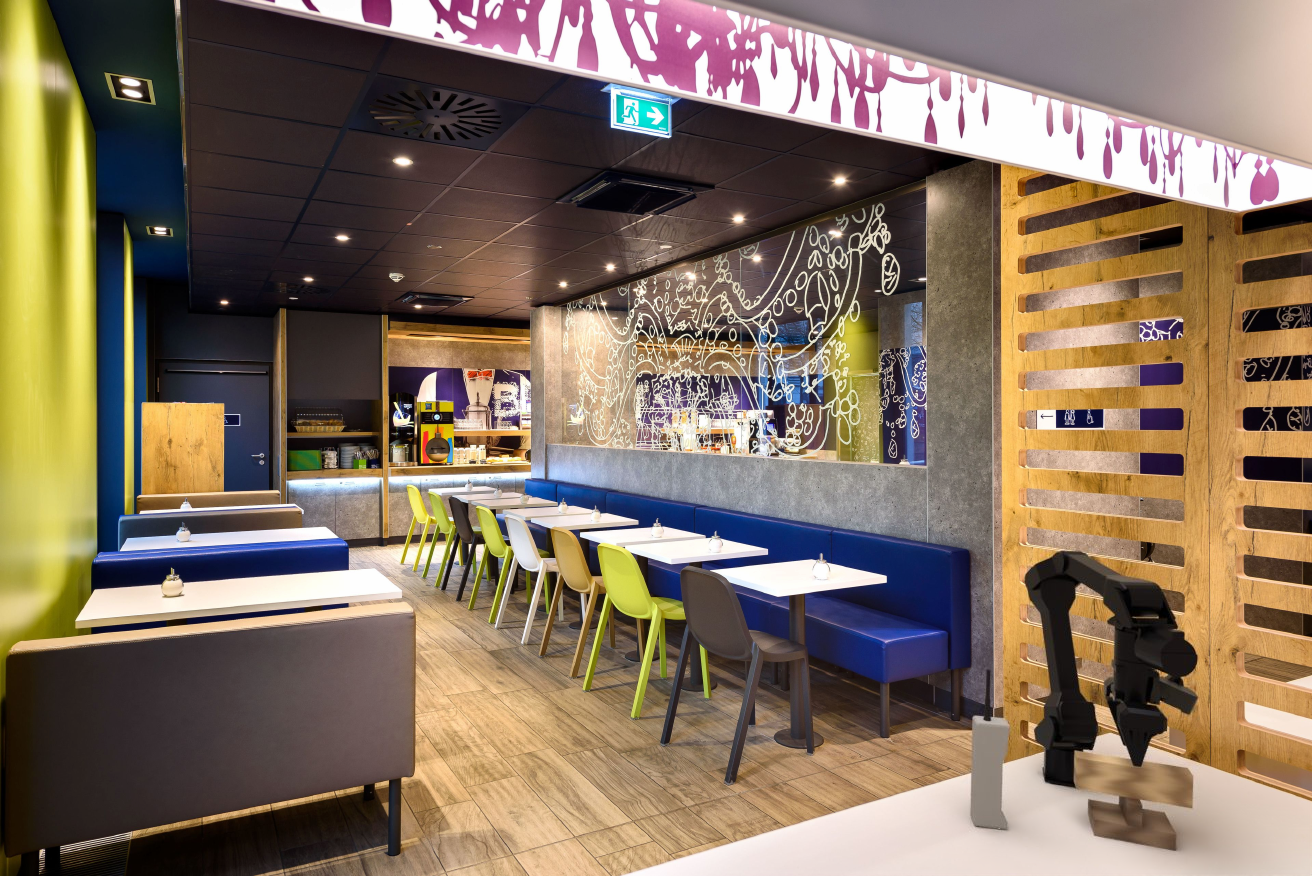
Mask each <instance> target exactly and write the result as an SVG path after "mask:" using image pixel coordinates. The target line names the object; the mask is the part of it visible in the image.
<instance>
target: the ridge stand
mask: <svg viewBox="0 0 1312 876" xmlns="http://www.w3.org/2000/svg"><path fill="white" fill-rule="evenodd" d="M1087 815H1088V820H1089V822H1090V825H1091V828H1092V832H1093V836H1095V837H1101V838H1108V839H1111V840H1112V839H1113V840H1117V841H1122V842H1123V841H1124V842H1128V843H1134V844H1138V845H1144V846H1150V847H1155V848H1160V849H1165V850H1171V851H1176V849H1177V846H1176V845H1177V833H1176V832H1175V829H1174V828H1173V825H1172V823H1171V822H1170V820H1169V818H1168V816H1167V814H1166V812H1165V811H1161V810H1160V811H1159V810H1154V809H1148V808H1143V803H1142V800H1139V799H1133V798H1127V797H1122V796H1118V803H1112V802H1107V801H1102V800H1097V799H1096V800H1095V799H1090V798H1088V799H1087Z"/></svg>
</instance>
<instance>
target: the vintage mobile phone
mask: <svg viewBox="0 0 1312 876" xmlns="http://www.w3.org/2000/svg"><path fill="white" fill-rule="evenodd" d="M985 675H986V676H985V677H986V678H985V679H986V680H985V698H984V714H983V716H982V715H973V716H972V722H971V724H972V725H971V728H972V729H971V730H972V731H971V732H972V733H971V735H972V736H971V765H970V766H971V768H970V770H971V771H970V774H971V775H970V810H969V811H970V813H969V814H970V817H971V820H972V822H973V824H974V826H975V827H977V826H979V827H978V828H986V827H988V829H994V828H1000V829H999V830H1003V829H1006V830H1008V821H1007V819H1006V816H1005V814H1004V812H1003V810H1002V807H1003V765H1004V761H1005V758H1006V757H1007V755H1008V754H1007V753H1008V745H1009V738H1010V730H1011V729H1010V728H1011V725H1010V724H1009V723H1008V721H1007V719H1006V718H1005V717H995V716H994V717H993V716H991V669H989V668H987V669H986V674H985Z"/></svg>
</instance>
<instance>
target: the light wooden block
mask: <svg viewBox="0 0 1312 876" xmlns="http://www.w3.org/2000/svg"><path fill="white" fill-rule="evenodd" d="M1074 783H1075V786H1076V787H1075V789H1076V790H1081V791H1086V792H1093V793H1098V794H1105V795H1110V796H1111V795H1112V796H1116V797H1119V796H1122V797H1127V798H1133V799H1139V800H1140V801H1147V802H1152V803H1158V804H1162V805H1163V804H1164V805H1170V806H1177V807H1181V808H1187V809H1194V806H1193V805H1194V775H1193V773H1192V772H1191V770H1190V769H1189V767H1185V766H1178V765H1172V764H1165V763H1158V762H1153V761H1146V760H1143V763H1142V766H1141V767H1136V766H1133V764H1132V761H1131V759H1130V758H1125V757H1120V756H1113V755H1108V754H1107V755H1106V754H1101V753H1093V752H1087V751H1084V752H1081V751H1075V752H1074Z"/></svg>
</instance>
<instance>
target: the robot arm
mask: <svg viewBox="0 0 1312 876" xmlns="http://www.w3.org/2000/svg"><path fill="white" fill-rule="evenodd" d="M1081 584H1082V585H1083V586H1086V587H1087V588H1089V589H1090V590H1091V591H1093V592H1095V593H1097V594H1098V595H1100V596H1101V598H1102V603H1103V605H1104V606H1105V607H1106V608H1107V609H1108V610H1109V611H1110V612H1111V613H1112V614H1114V615H1113V616H1111V617H1109V619H1107V620H1106V622H1107V624H1108V625H1110V626H1113V627H1114V632H1113V637H1114V638H1113V658H1112V659H1111V663H1110V664H1111V667H1112V669H1113V670H1112V671H1113V675H1112V676H1113V677H1111V676H1110V677H1108V678H1106V679H1105V680H1104V681H1103V694H1104V696H1105V697H1104V698H1105V702H1106V704H1107V706H1108V708H1109V712H1110V713H1111V716H1112V719H1113V723H1114V724H1115V727H1116V729H1117V732H1118V735H1119V738H1120V741H1121V742H1122V745H1123V746H1124V747H1126V750H1127V753H1128V755H1129V759H1131V761H1132V764H1133V766H1136V767H1141V766H1142V763H1143V761H1145V757H1146V754H1147V751H1148V748H1149V745H1150V743H1151V740H1152V739H1153V738H1155V737H1156V736H1158V735H1163V734H1164V733H1165V732H1167V731H1168V718H1167V716H1166V715H1165V713H1164V712H1163V711H1162V709H1160V708H1159V707H1158V706H1160V705H1161V702H1162V703H1164V704H1166V705H1168V706H1170V707H1172V708H1175V709H1177V710H1180V712H1181V713H1183V714H1185V715H1189V716H1190V715H1191V714H1192V712H1193V710H1194V707H1195V705H1196V703H1197V701H1198V699H1199V696H1198V695H1197V694H1196V692H1194V690H1192V689H1190V688H1189V687H1188V686H1185V685H1184V679H1183V678H1184V677H1187V676H1189V675H1190V674H1192V673H1193V671H1194V670H1195V669H1196V667H1197V665H1198V660H1199V658H1198V657H1199V655H1198V654H1197V651H1196V648H1195V647H1194V646H1193V645H1192V643H1191V642H1189V641H1187V640H1185V639H1186V636H1185V635H1186V633H1185V631H1183V630H1180V629H1179V625H1178V623H1177V621H1176V619H1177V617H1176V616H1175V614H1174V612H1173V610H1172V609H1171V606H1170V605H1169V602H1168V600H1167V598H1166V595H1165V593H1164V592H1163V591H1162V590H1163V589H1162V587H1160V585H1159V584H1158V583H1156V582H1154V581H1151V580H1148V579H1144V578H1140V577H1139V578H1138V577H1133V576H1132V577H1131V576H1128V575H1127V576H1126V575H1122V574H1121V573H1119V572H1117V571H1116V570H1114V569H1111V568H1110V567H1108V566H1107V565H1105V564H1102V563H1101V562H1099V561H1097V560H1095V559H1094V558H1092V557H1090V556H1089V555H1088V554H1087V552H1083V551H1081V550H1059V551H1057V552H1055V553H1054V554H1053V555H1052V556H1050V557H1048V558H1046V559H1043V560H1042V561H1039V562H1037V563H1035V564H1034V565H1032V566H1031V567H1030V568H1029V570H1028V571H1027V572H1026V573H1025V574H1024V585H1025V588H1026V590H1027V594H1028V598H1029V601H1030V603H1032V605H1033V606H1034V607H1035V608H1036V610H1037V611H1038V612H1039V614H1040V619H1041V620H1040V621H1041V627H1042V635H1043V643H1044V649H1045V650H1044V651H1045V658H1046V665H1047V670H1048V671H1047V672H1048V679H1049V681H1048V682H1049V687H1050V693H1049V694H1048V697H1047V699H1046V701H1045V703H1044V705H1043V718H1042V720H1041V721H1040V722H1039V723H1038V724H1037V725H1036V726H1035V728H1033V732H1034V740H1035V742H1036V743H1037V744H1039V745H1040V746H1042V747H1043V766H1042V767H1041V768H1042V770H1041V771H1042V774H1043V780H1044V782H1046V783H1050V784H1057V785H1063V786H1068V787H1073V788H1076V786H1075V783H1074V752H1075V751H1081V752H1085V751H1093V750H1094V748H1095V744H1096V741H1097V736H1098V733H1099V723H1098V720H1097V715H1096V714H1097V713H1096V705H1095V704H1094V703H1093V701H1088V700H1087V699H1086V696H1084V695H1083V693H1082V692H1081V687H1080V680H1079V674H1078V673H1079V672H1078V666H1077V660H1076V653H1075V647H1074V640H1073V633H1072V627H1071V624H1072V623H1071V617H1070V610H1071V609H1072V607H1073V605H1074V602H1075V601H1076V598H1077V594H1076V593H1077V591H1076V589H1077V588H1078V587H1079V586H1080V585H1081ZM1160 672H1161V673H1164V674H1167V675H1165V676H1163V675H1160Z"/></svg>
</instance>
